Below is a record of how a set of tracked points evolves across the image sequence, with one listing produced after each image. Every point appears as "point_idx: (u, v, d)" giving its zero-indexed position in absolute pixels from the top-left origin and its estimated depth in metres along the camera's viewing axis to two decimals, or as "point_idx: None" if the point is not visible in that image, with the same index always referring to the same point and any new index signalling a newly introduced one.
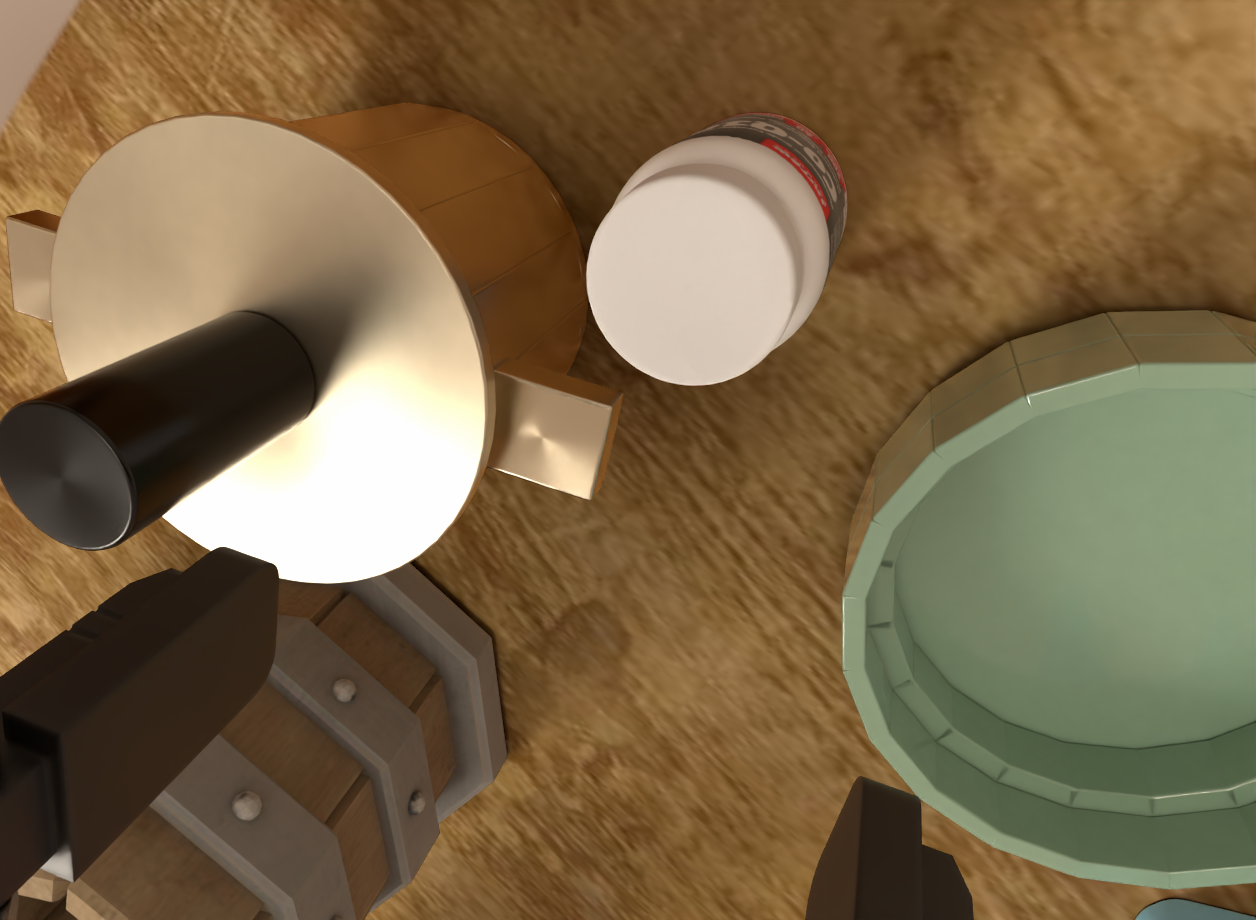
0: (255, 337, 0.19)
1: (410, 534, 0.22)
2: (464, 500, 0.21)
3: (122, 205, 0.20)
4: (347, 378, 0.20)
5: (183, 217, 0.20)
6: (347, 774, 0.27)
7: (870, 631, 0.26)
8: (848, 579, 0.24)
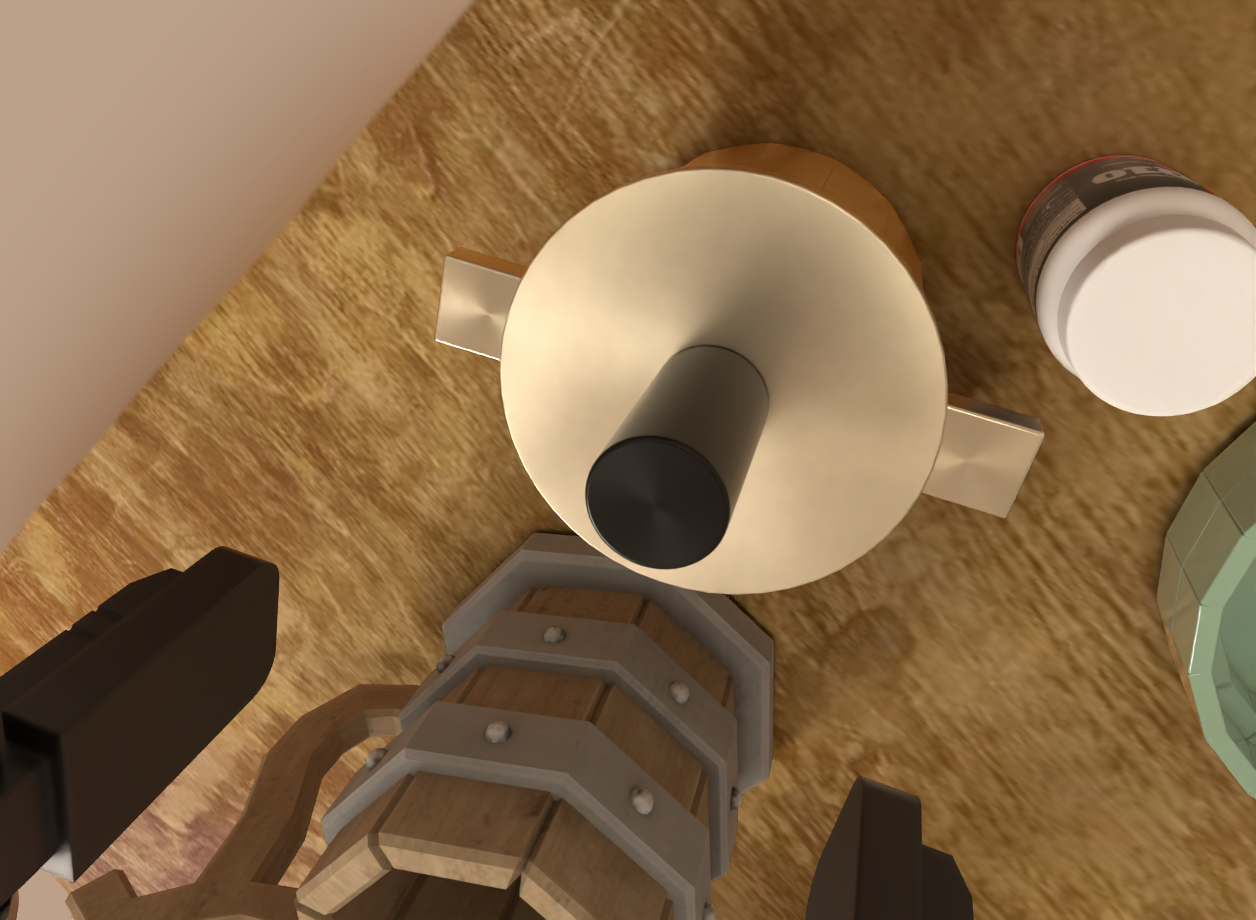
0: (738, 371, 0.21)
1: (836, 549, 0.23)
2: (900, 518, 0.23)
3: (601, 249, 0.22)
4: (802, 406, 0.22)
5: (663, 260, 0.21)
6: (693, 771, 0.29)
7: None
8: (1208, 589, 0.25)
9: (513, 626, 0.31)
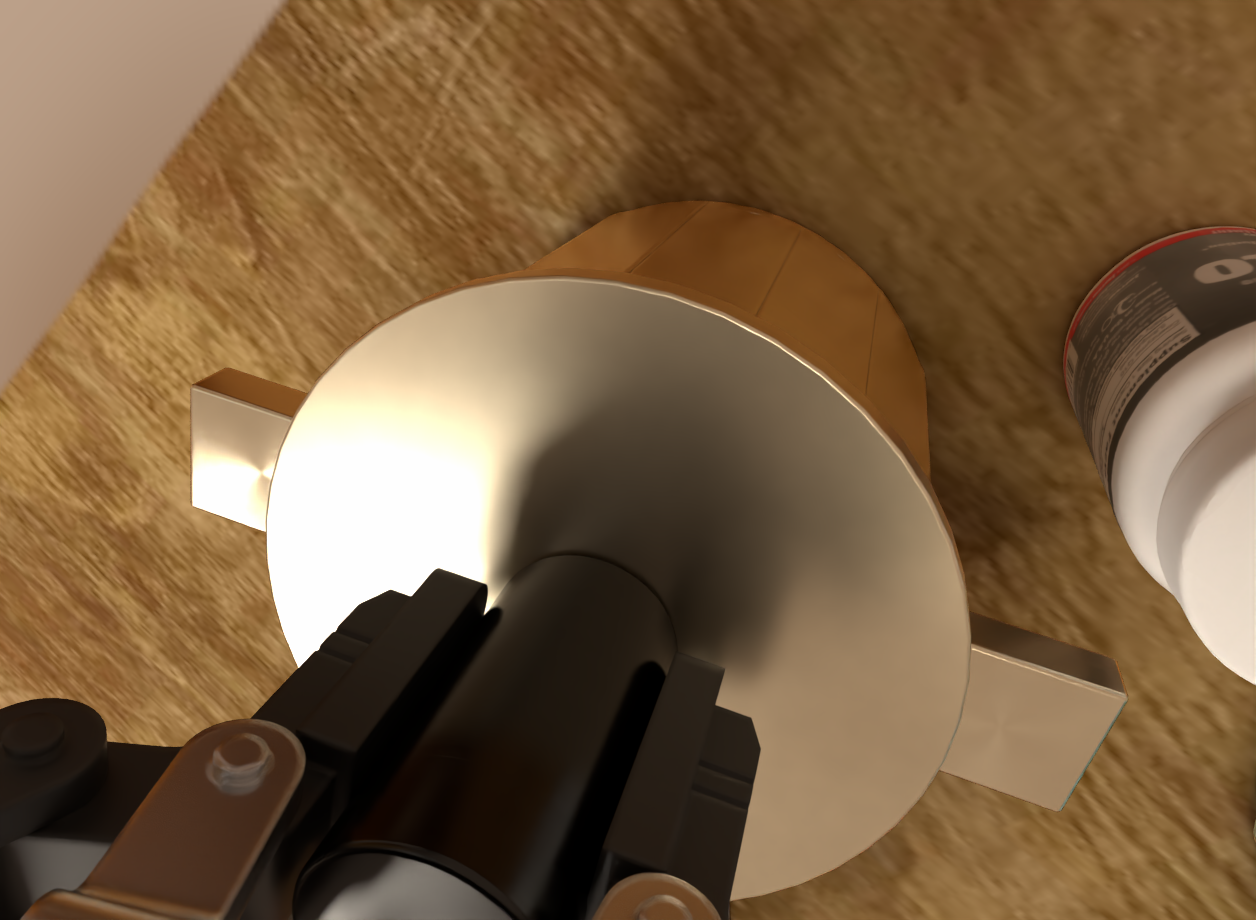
0: (619, 611, 0.13)
1: (792, 857, 0.15)
2: (891, 825, 0.14)
3: (400, 398, 0.13)
4: (731, 653, 0.14)
5: (499, 421, 0.13)
6: None
7: None
8: None
9: None
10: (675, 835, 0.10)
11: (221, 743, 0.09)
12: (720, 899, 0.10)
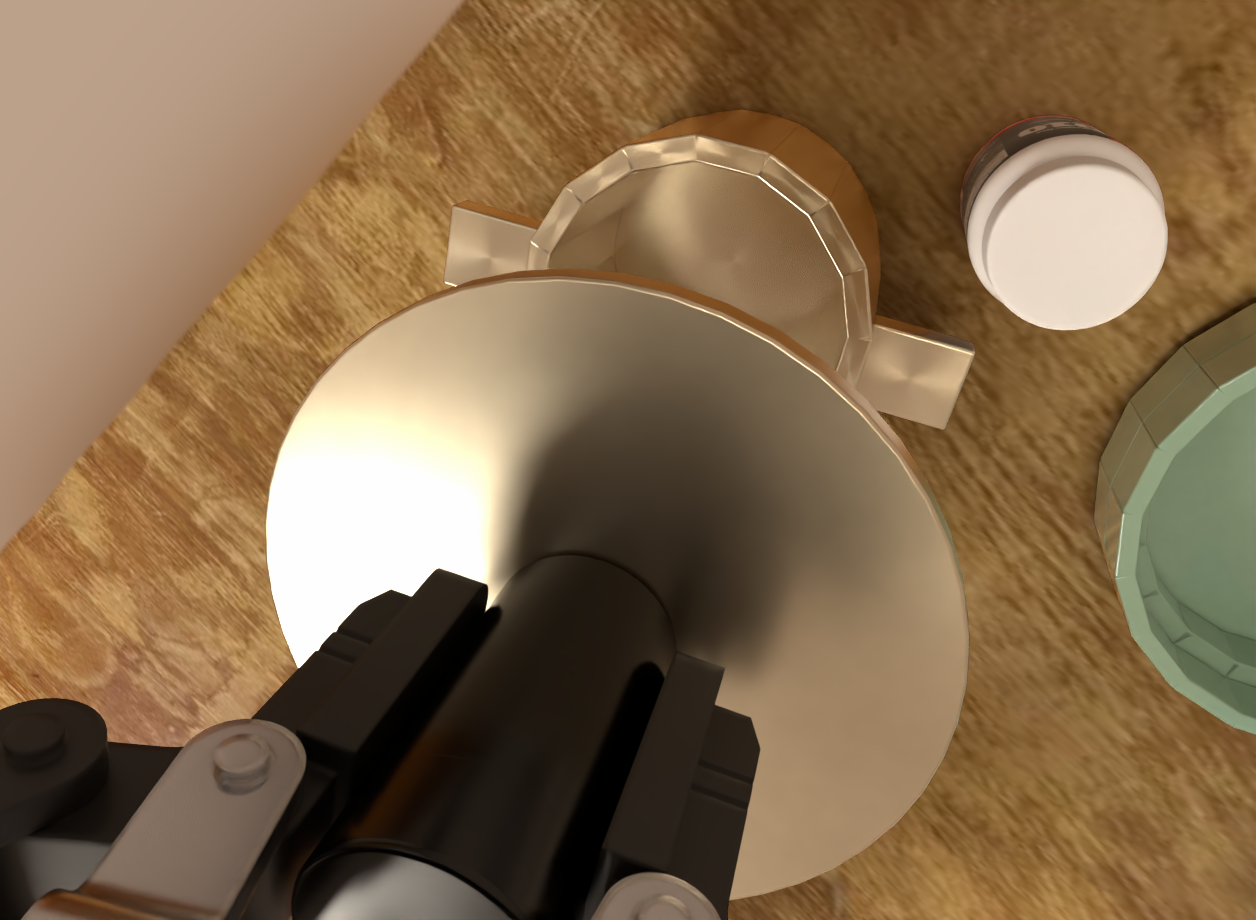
0: (618, 611, 0.13)
1: (791, 857, 0.15)
2: (889, 824, 0.14)
3: (399, 399, 0.13)
4: (730, 653, 0.14)
5: (498, 421, 0.13)
6: None
7: None
8: (1129, 498, 0.29)
9: None
10: (675, 835, 0.10)
11: (221, 743, 0.09)
12: (720, 899, 0.10)
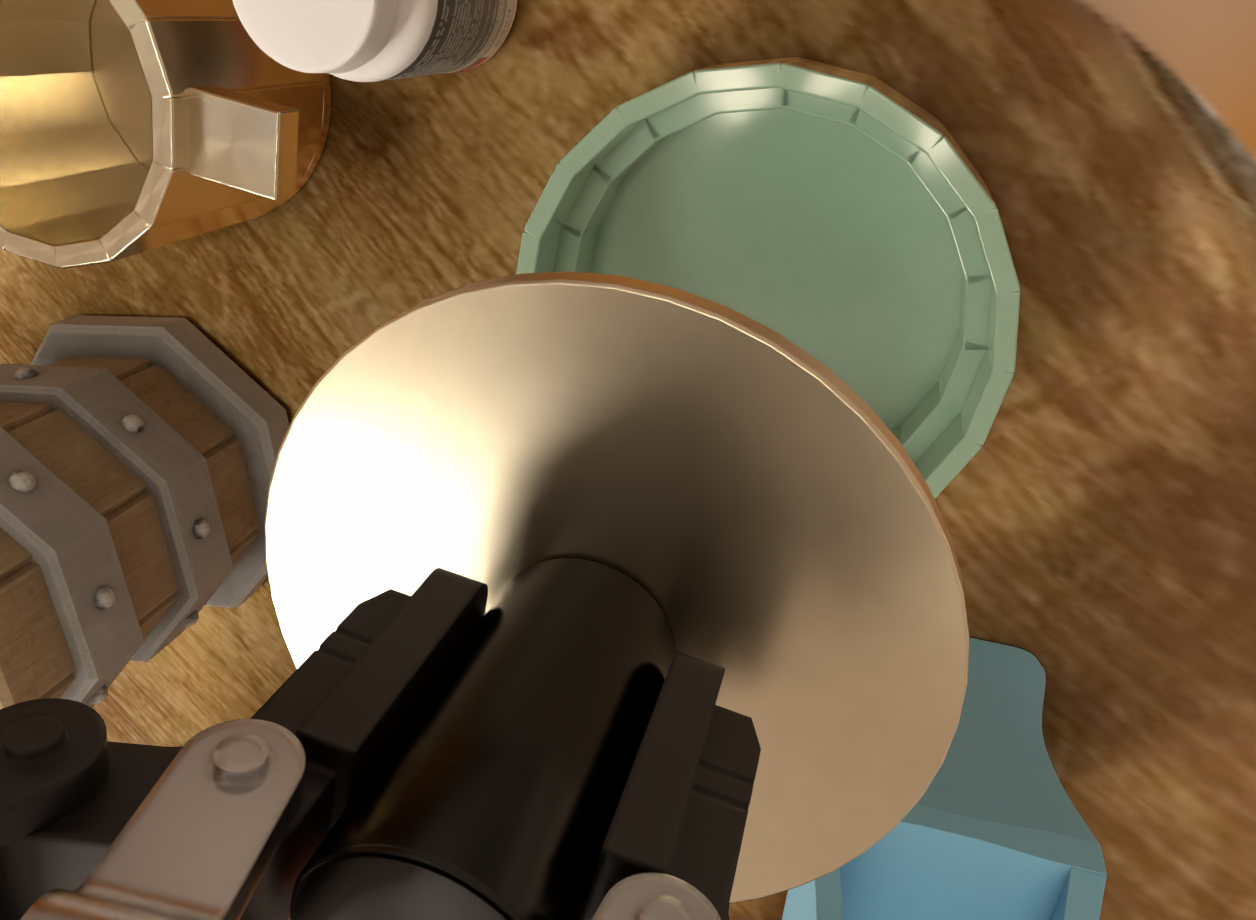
0: (617, 614, 0.13)
1: (790, 860, 0.15)
2: (889, 827, 0.14)
3: (398, 401, 0.13)
4: (730, 655, 0.14)
5: (497, 424, 0.13)
6: (129, 486, 0.32)
7: None
8: None
9: None
10: (675, 835, 0.10)
11: (221, 743, 0.09)
12: (720, 899, 0.10)
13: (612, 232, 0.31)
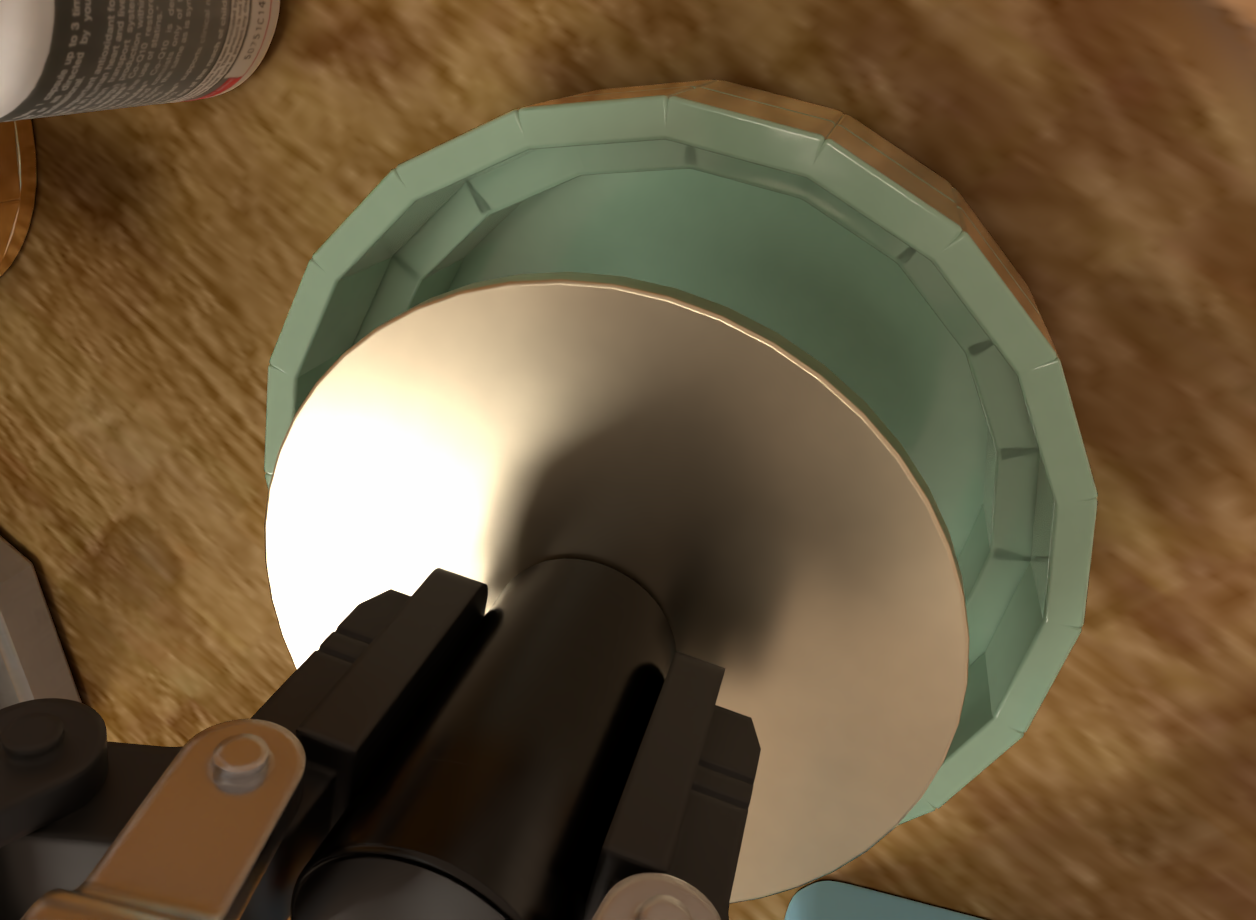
0: (617, 614, 0.13)
1: (790, 860, 0.15)
2: (889, 827, 0.14)
3: (398, 402, 0.13)
4: (729, 656, 0.14)
5: (497, 424, 0.13)
6: None
7: None
8: (265, 450, 0.18)
9: None
10: (675, 835, 0.10)
11: (221, 743, 0.09)
12: (720, 899, 0.10)
13: None
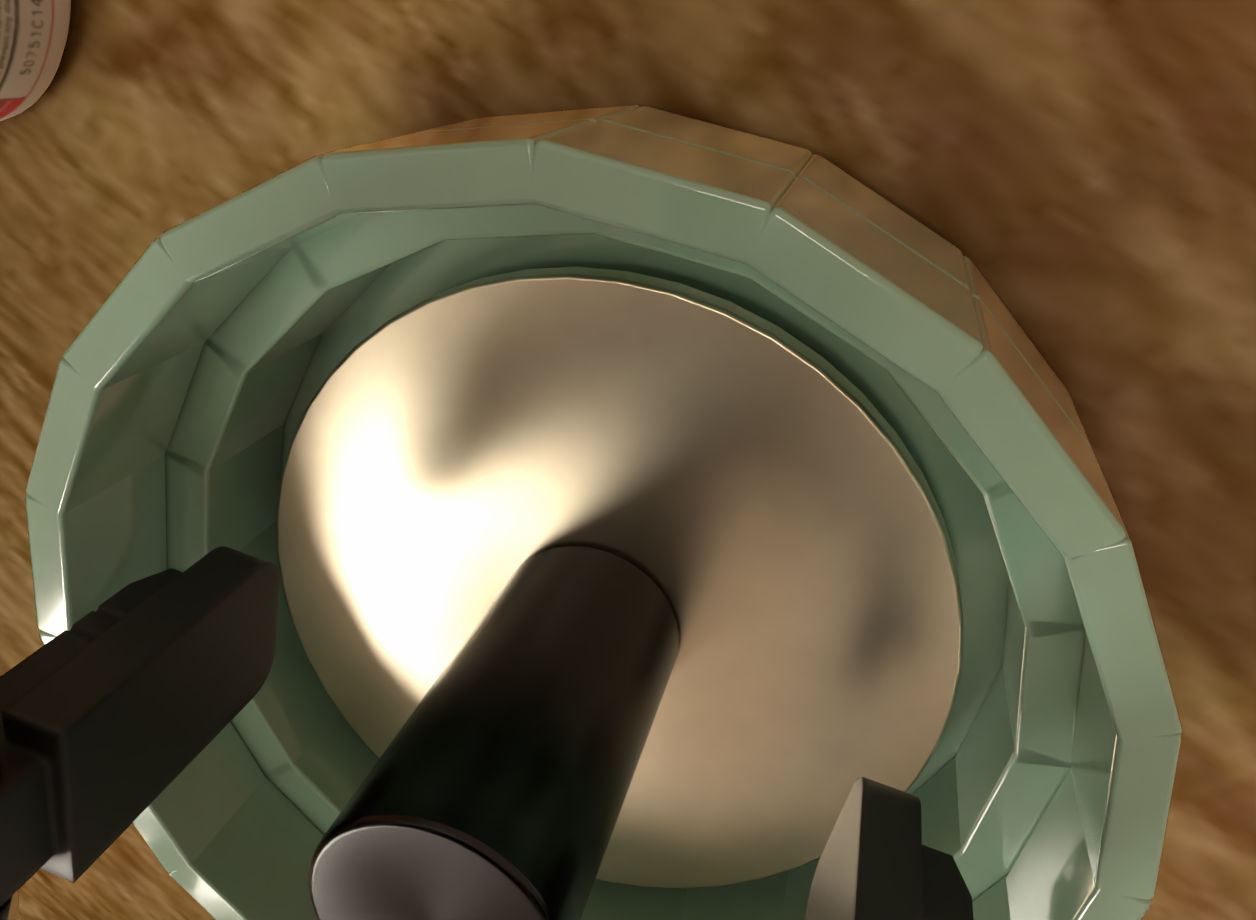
0: (622, 600, 0.13)
1: (789, 842, 0.15)
2: None
3: (409, 393, 0.14)
4: (731, 641, 0.14)
5: (505, 415, 0.13)
6: None
7: None
8: (36, 602, 0.13)
9: None
10: None
11: None
12: None
13: None
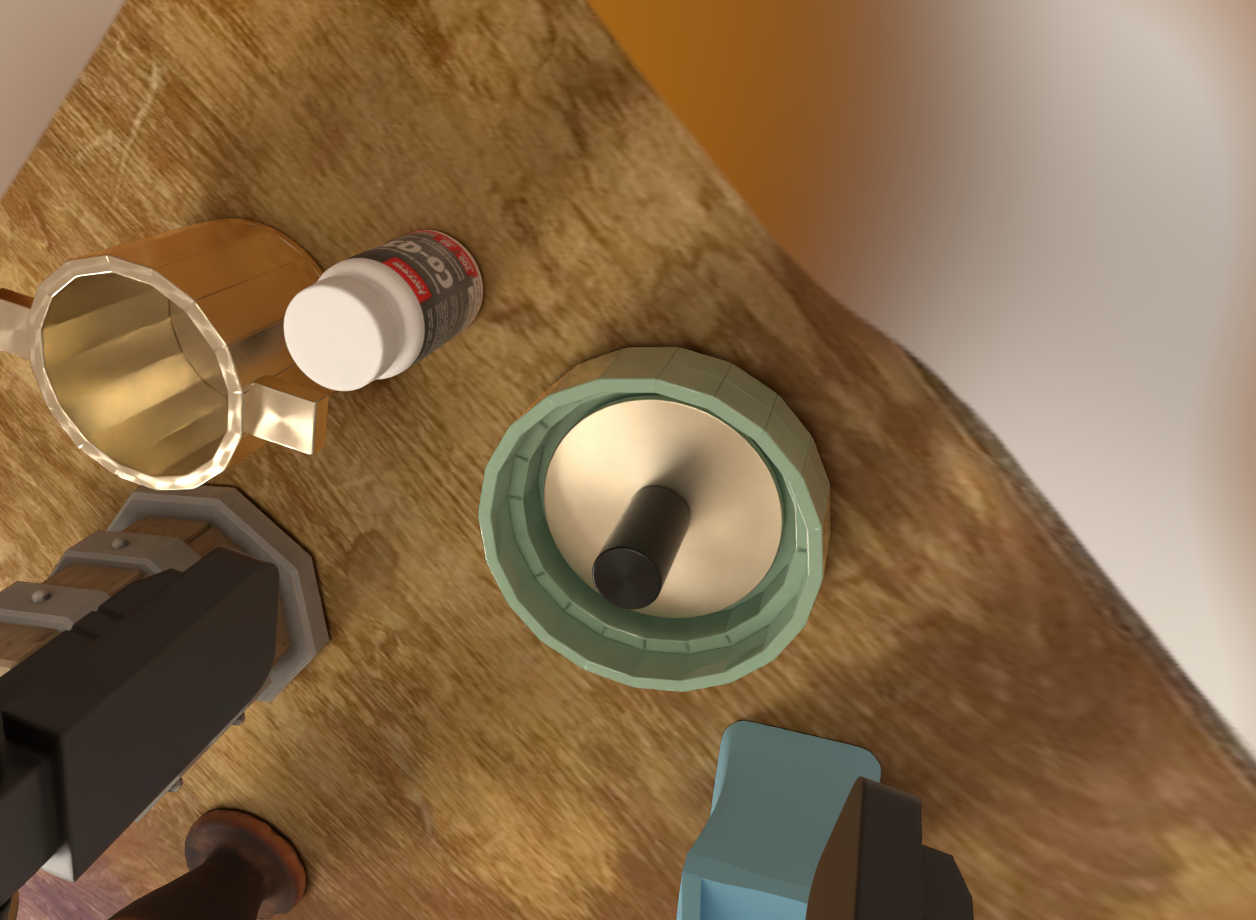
0: (672, 502, 0.40)
1: (729, 594, 0.42)
2: (762, 578, 0.41)
3: (600, 434, 0.41)
4: (708, 518, 0.41)
5: (633, 442, 0.40)
6: None
7: (515, 540, 0.43)
8: (479, 504, 0.40)
9: (98, 539, 0.46)
10: None
11: None
12: None
13: (553, 450, 0.43)
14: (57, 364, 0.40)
